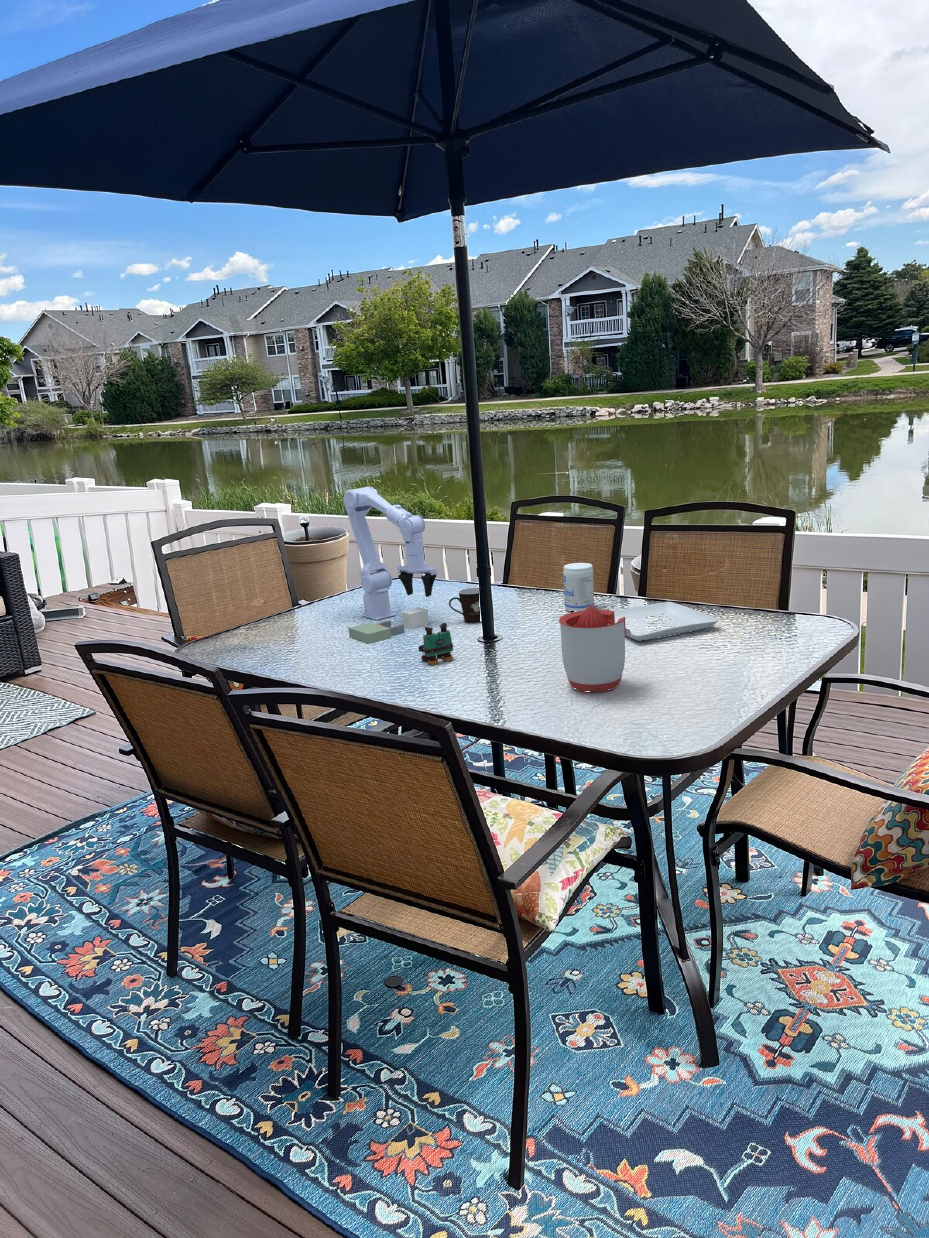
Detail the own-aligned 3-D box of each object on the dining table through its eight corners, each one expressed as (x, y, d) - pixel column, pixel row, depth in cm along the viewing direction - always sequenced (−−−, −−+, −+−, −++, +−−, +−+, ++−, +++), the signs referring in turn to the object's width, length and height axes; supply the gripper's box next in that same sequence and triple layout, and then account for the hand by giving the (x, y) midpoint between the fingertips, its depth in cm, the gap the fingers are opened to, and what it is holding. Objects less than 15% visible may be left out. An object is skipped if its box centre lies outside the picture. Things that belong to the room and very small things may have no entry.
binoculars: (438, 619, 237) (453, 622, 228) (443, 655, 239) (458, 660, 230) (409, 625, 233) (424, 629, 225) (415, 661, 235) (429, 666, 226)
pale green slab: (349, 636, 264) (348, 627, 263) (387, 627, 272) (386, 617, 271) (368, 643, 254) (367, 633, 253) (407, 633, 262) (406, 623, 261)
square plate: (669, 611, 262) (669, 599, 261) (721, 631, 237) (721, 618, 236) (591, 625, 254) (591, 613, 253) (637, 647, 229) (636, 634, 228)
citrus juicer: (646, 688, 197) (643, 606, 192) (578, 700, 193) (574, 617, 188) (616, 669, 212) (613, 593, 207) (552, 681, 207) (548, 603, 202)
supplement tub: (559, 610, 274) (556, 566, 270) (579, 604, 279) (577, 561, 275) (579, 614, 266) (577, 569, 262) (600, 608, 272) (598, 564, 268)
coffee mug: (488, 616, 274) (486, 587, 271) (486, 623, 265) (484, 593, 263) (453, 618, 275) (450, 589, 272) (450, 625, 267) (447, 595, 264)
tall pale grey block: (402, 626, 271) (401, 611, 270) (420, 621, 275) (418, 607, 274) (411, 629, 267) (410, 614, 266) (429, 624, 271) (427, 609, 270)
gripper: (440, 552, 265) (444, 593, 269) (405, 551, 274) (409, 591, 277) (427, 556, 260) (431, 599, 263) (391, 555, 268) (396, 596, 272)
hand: (419, 595), depth 270 cm, fingers open, 7 cm apart
